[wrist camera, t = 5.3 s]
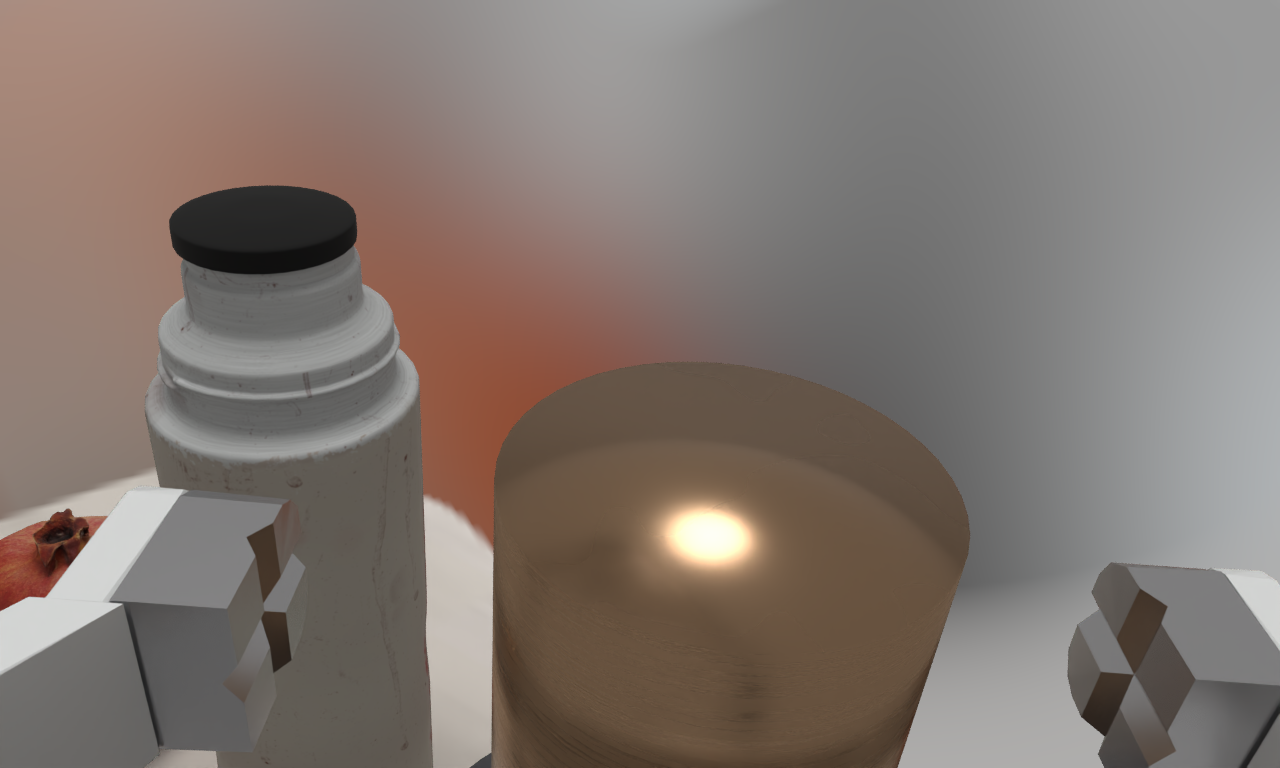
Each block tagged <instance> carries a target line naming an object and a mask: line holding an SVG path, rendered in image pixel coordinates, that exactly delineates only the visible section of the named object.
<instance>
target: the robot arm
mask: <svg viewBox="0 0 1280 768" xmlns="http://www.w3.org/2000/svg"><path fill="white" fill-rule="evenodd" d="M301 533H302V531H301V524H300V518H299V512H298V506H297V505H296V504H295V503H294V502H293V501H292V500H291V499H281V498H271V497H261V496H250V495H240V494H230V493H220V492H210V491H200V490H190V491H188V490H183V489H172V488H161V487H150V486H138V487H136V488H134V489H132V490H129V491H128V492H127V493H125V494H124V496H123V497H122V498H121V500H120V501H119V502H118V504H117V505H116V506H115V507H114V509H113V510H112V511H111V513H110V514H109V515H108V517H107V518H106V519H105V521H104V522H103V523H102V524H101V526H100V527H99V528H98V530H97V531H96V532H95V534H94V535H93V536H92V537H91V539H90V540H89V541H88V543H87V544H86V545H85V547H84V548H83V549H82V550H81V552H80V553H79V554H78V556H77V557H76V558H75V560H74V561H73V562H72V564H71V565H70V566H69V567H68V569H67V570H66V571H65V573H64V574H63V575H62V577H61V578H60V579H59V580H58V582H57V583H56V584H55V586H54V587H53V588H52V590H51V591H50V592H49V593H48V595H47V596H46V597H45V598H40V597H27V598H25V599H23V600H22V601H20V602H18V603H16V604H14V605H12V606H10V607H8V608H6V609H4V610H2V611H0V768H144V767H145V766H146V765H147V764H148V763H150V762H151V761H152V760H153V759H154V758H156V757H157V756H158V755H159V754H160V751H159V749H180V750H204V751H229V752H253V750H254V748H255V745H256V743H257V741H258V738H259V736H260V734H261V731H262V729H263V727H264V724H265V722H266V720H267V717H268V715H269V713H270V710H271V708H272V706H273V703H274V701H275V699H276V688H275V681H274V674H273V673H274V672H276V671H277V670H279V669H280V668H282V667H283V666H284V665H286V664H287V663H289V662H290V661H292V658H293V656H294V653H295V651H296V648H297V646H298V643H299V641H300V638H301V634H302V629H303V625H304V620H305V615H306V611H307V593H308V584H307V574H306V567H305V566H304V565H303V564H302V563H301V562H300V561H299V559H298V558H297V557H296V556H295V555H294V554H293V553H292V552H293V550H294V548H295V546H296V544H297V542H298V539H299V537H300V535H301ZM1092 594H1093V596H1094V598H1095V600H1096V603H1097V605H1098V607H1099V610H1098V611H1096V612H1095V613H1093V614H1092V615H1091V616H1089V617H1088V618H1086V619H1085V620H1083V621H1082V622H1081V623H1079V624H1078V625H1077V628H1076V630H1075V633H1074V636H1073V639H1072V641H1071V644H1070V647H1069V651H1068V679H1069V684H1070V689H1071V694H1072V697H1073V699H1074V701H1075V704H1076V706H1077V709H1078V711H1079V713H1080V715H1081V717H1082V718H1083V719H1085V720H1086V721H1087V722H1088V723H1089V724H1090V725H1092V726H1093V727H1094V728H1095V729H1097V730H1098V731H1099V732H1100V733H1101V734H1103V735H1104V736H1105V737H1104V740H1103V742H1102V745H1101V748H1100V750H1099V753H1098V755H1099V757H1100V759H1101V761H1102V764H1103V766H1104V768H1280V585H1279V583H1278V582H1277V581H1276V580H1275V579H1274V578H1272V577H1270V576H1269V575H1267V574H1265V573H1263V572H1262V571H1253V570H1235V569H1217V568H1210V569H1208V570H1206V569H1196V568H1181V567H1168V566H1153V565H1140V564H1126V563H1125V564H1124V563H1110V564H1109V565H1108V566H1107V567H1106V568H1105V569H1104V570H1103V571H1102V572H1101V573H1100V574H1099V576H1098V579H1097V581H1096V583H1095V585H1094V588H1093V590H1092Z"/></svg>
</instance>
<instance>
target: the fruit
mask: <svg viewBox="0 0 1280 768" xmlns="http://www.w3.org/2000/svg"><path fill="white" fill-rule="evenodd" d="M107 517H108V516H89V517H74V516H73V515H72V511H71V510H70V509H66V510H65V511H64V512H56V513H55V514H53V515H52V517H51V518H50V520H48V521H42V522H38V523H36V524H33V525H31V526H28V527H26V528H24V529H22V530H20V531H18V532H15V533H13V534H11V535H9V536H7V537H5V538H3V539H1V540H0V611H2V610H4V609H6V608H8V607H10V606H12V605H14V604H16V603H18V602H20V601H22V600H23V599H25V598H27V597H40V598H45V597H46V596H47V595H48V593H49V592H50V591H51V590H52V588H53V587H54V586H55V584H56V583H57V582H58V580H59V579H60V578H61V577H62V575H63V574H64V573H65V571H66V570H67V569H68V567H69V566H70V565H71V564H72V562H73V561H74V560H75V558H76V557H77V556H78V554H79V553H80V552H81V550H82V549H83V548H84V547H85V545H86V544H87V543H88V541H89V540H90V539H91V537H92V536H93V535H94V534H95V532H96V531H97V530H98V528H99V527H100V526H101V524H102V523H103V522H104V521H105V519H106V518H107Z"/></svg>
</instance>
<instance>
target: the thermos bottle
mask: <svg viewBox="0 0 1280 768" xmlns="http://www.w3.org/2000/svg"><path fill="white" fill-rule="evenodd" d="M169 224H170V234H171V239H172V245H173V248H174V250H175V251H176V253H177V254H178V255H179V256H180V257H182V258H183V261H182V263H181V275H182V282H183V288H184V295H185V297H184V298H182V299H181V300H180V301H178V302H177V303H175V304H174V305H173V306H172V307H171V308H170V309H169V310H168V311H167V312H166V314H165V315H164V316H163V318H162V320H161V323H160V325H159V327H158V339H159V346H160V353H159V356H158V358H157V361H158V362H157V370H158V374H157V375H156V377H155V378H154V379H153V380H152V382H151V384H150V386H149V389H148V391H147V393H146V396H145V416H146V421H147V426H148V431H149V436H150V441H151V445H152V450H153V455H154V460H155V465H156V470H157V475H158V480H159V485H160V487H161V488H172V489H183V490H188V491H190V490H200V491H210V492H220V493H230V494H240V495H250V496H261V497H271V498H281V499H291V500H292V501H293V502H294V503H295V504H296V505H297V506H298V512H299V518H300V524H301V531H302V533H301V535H300V537H299V539H298V542H297V544H296V546H295V548H294V550H293V552H292V553H293V554H294V555H295V556H296V557H297V558H298V559H299V561H300V562H301V563H302V564H303V565H304V566H305V567H306V574H307V584H308V593H307V611H306V615H305V620H304V625H303V629H302V634H301V638H300V641H299V643H298V646H297V648H296V651H295V653H294V656H293V658H292V661H290V662H289V663H287V664H286V665H284V666H283V667H282V668H280V669H279V670H277V671H276V672H274V673H273V674H274V681H275V688H276V699H275V701H274V703H273V706H272V708H271V710H270V713H269V715H268V717H267V720H266V722H265V724H264V727H263V729H262V731H261V734H260V736H259V738H258V741H257V743H256V745H255V748H254V750H253V752H229V751H216V755H217V763H218V768H433V755H432V727H431V699H430V677H429V665H428V656H427V647H426V613H427V590H426V558H425V530H424V502H423V474H422V447H421V419H420V391H419V376H418V374H417V371H416V369H415V367H414V364H413V363H412V361H411V360H410V359H409V358H408V357H407V356H406V355H405V353H404V352H403V351H401V350H400V349H399V345H400V335H399V333H398V330H397V328H396V326H395V324H394V320H393V313H392V311H391V308H390V306H389V304H388V303H387V302H386V301H385V300H384V298H383V297H382V296H381V295H380V294H379V293H377V292H375V291H374V290H372V289H371V288H369V287H368V286H365V285H363V284H362V278H361V277H362V276H361V264H360V257H359V255H358V252H357V250H356V248H355V247H354V243H355V242H356V238H357V225H356V224H357V223H356V215H355V212H354V209H353V208H352V207H351V206H350V205H349V204H348V203H347V202H346V201H344V200H342V199H341V198H339V197H337V196H334V195H331V194H329V193H326V192H322V191H318V190H314V189H308V188H301V187H292V186H251V187H250V186H249V187H242V188H233V189H228V190H222V191H217V192H213V193H210V194H207V195H203V196H201V197H198V198H195V199H193V200H190V201H189V202H187V203H185V204H183V205H182V206H180V207H179V208H178V209H177V210H176V211H175V212H174V213H173V214H172V216H171V218H170V220H169Z"/></svg>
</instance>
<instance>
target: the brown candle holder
mask: <svg viewBox="0 0 1280 768" xmlns="http://www.w3.org/2000/svg"><path fill="white" fill-rule="evenodd" d="M969 541H970V530H969V522H968V515H967V512H966V508H965V505H964V502H963V499H962V496H961V495H960V493H959V491H958V489H957V487H956V485H955V483H954V481H953V480H952V478H951V477H950V475H949V474H948V473H947V471H946V470H945V468H944V467H943V466H942V464H941V463H940V462H939V460H937V458H936V457H935V456H934V455H933V454H932V453H931V452H930V451H929V450H928V449H927V448H926V447H925V446H924V445H923V444H922V443H921V442H920V441H918V440H917V439H916V438H915V437H913V436H912V435H911V434H910V433H909V432H908V431H906V430H905V429H904V428H902V427H901V426H899V425H898V424H897V423H895V422H894V421H892V420H891V419H889V418H888V417H886V416H885V415H883V414H881V413H879V412H878V411H876V410H874V409H872V408H871V407H869V406H867V405H865V404H863V403H861V402H859V401H857V400H855V399H853V398H851V397H849V396H847V395H844V394H842V393H840V392H837V391H835V390H832V389H830V388H827V387H825V386H822V385H819V384H816V383H813V382H810V381H807V380H804V379H801V378H797V377H794V376H789V375H786V374H782V373H777V372H774V371H769V370H764V369H759V368H752V367H747V366H740V365H731V364H722V363H708V362H666V363H654V364H643V365H638V366H632V367H625V368H620V369H616V370H612V371H608V372H603V373H599V374H596V375H593V376H591V377H588V378H585V379H582V380H579V381H576V382H574V383H572V384H570V385H568V386H566V387H564V388H561V389H559V390H557V391H556V392H554V393H552V394H551V395H549V396H548V397H546V398H544V399H543V400H541V401H540V402H538V403H537V404H536V405H535V406H534V407H532V408H531V409H530V410H529V411H528V412H526V413H525V414H524V415H523V416H522V417H521V419H520V420H519V421H518V422H517V423H516V424H515V426H514V427H513V428H512V430H511V431H510V433H509V434H508V436H507V437H506V439H505V441H504V442H503V444H502V447H501V450H500V453H499V456H498V458H497V462H496V470H495V478H494V562H493V658H492V753H490V754H489V755H487V756H485V757H484V758H482V759H481V760H479V761H478V762H477V763H475V764H474V765H473V766H471V767H470V768H897V767H898V764H899V761H900V758H901V755H902V752H903V749H904V746H905V743H906V740H907V737H908V734H909V731H910V728H911V725H912V722H913V719H914V716H915V713H916V710H917V707H918V704H919V701H920V698H921V695H922V692H923V689H924V686H925V683H926V680H927V677H928V674H929V670H930V668H931V664H932V662H933V659H934V656H935V653H936V650H937V647H938V643H939V641H940V638H941V634H942V631H943V629H944V626H945V622H946V619H947V616H948V613H949V610H950V607H951V604H952V601H953V598H954V595H955V592H956V589H957V586H958V583H959V580H960V577H961V574H962V571H963V568H964V565H965V562H966V559H967V556H968V550H969Z"/></svg>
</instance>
